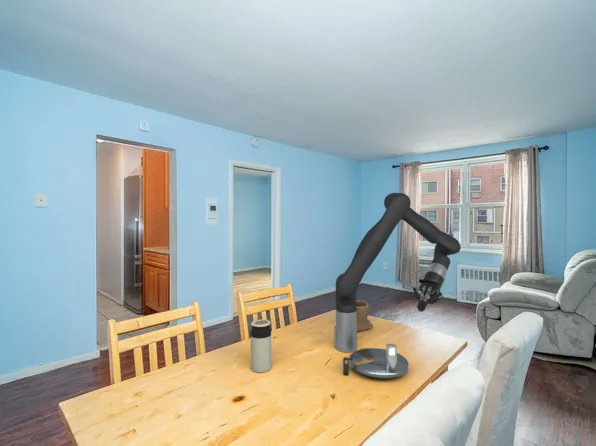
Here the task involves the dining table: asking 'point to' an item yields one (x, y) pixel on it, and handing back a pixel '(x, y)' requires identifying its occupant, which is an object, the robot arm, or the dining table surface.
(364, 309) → the stone cup
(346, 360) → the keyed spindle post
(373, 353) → the turntable
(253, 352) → the travel mug
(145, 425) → the dining table surface
